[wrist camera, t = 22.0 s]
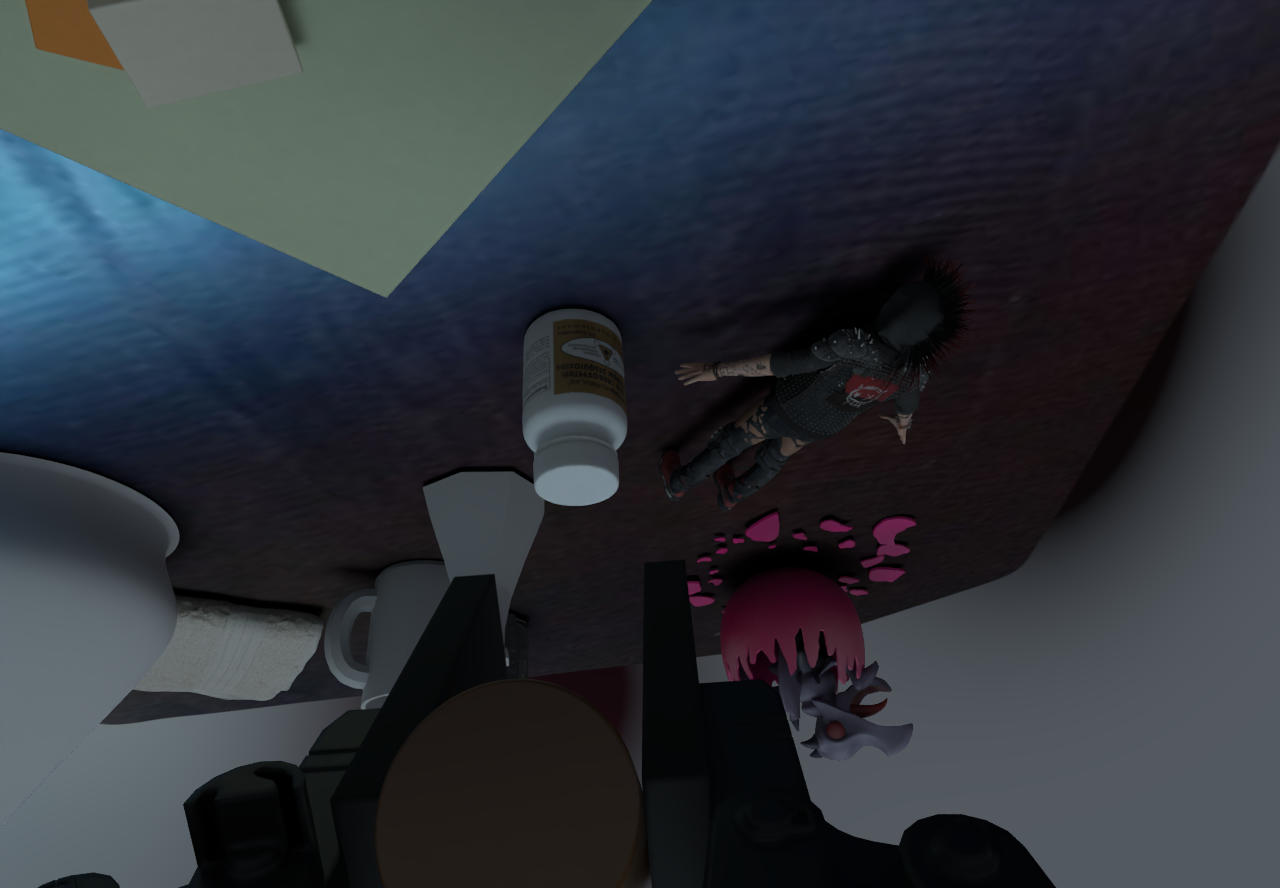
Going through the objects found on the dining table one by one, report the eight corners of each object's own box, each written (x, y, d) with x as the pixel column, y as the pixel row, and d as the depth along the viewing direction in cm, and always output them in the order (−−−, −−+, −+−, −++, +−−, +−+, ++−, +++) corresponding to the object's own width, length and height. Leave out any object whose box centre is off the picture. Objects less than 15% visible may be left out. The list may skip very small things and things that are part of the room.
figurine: (588, 522, 44) (850, 291, 29) (587, 422, 47) (824, 165, 31) (801, 560, 50) (1111, 385, 34) (788, 470, 52) (1069, 271, 37)
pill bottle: (641, 327, 39) (652, 478, 35) (585, 376, 42) (589, 521, 38) (558, 290, 36) (561, 448, 32) (505, 345, 39) (501, 495, 35)
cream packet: (87, 9, 22) (81, -22, 22) (147, 109, 24) (141, 80, 25) (266, -27, 22) (257, -56, 23) (304, 73, 25) (295, 46, 26)
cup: (463, 603, 65) (457, 724, 61) (324, 587, 61) (306, 715, 57) (493, 566, 60) (489, 695, 55) (344, 546, 56) (326, 684, 51)
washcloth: (128, 661, 72) (118, 699, 70) (148, 583, 59) (137, 626, 57) (279, 675, 77) (274, 710, 76) (328, 606, 64) (322, 647, 63)
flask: (523, 456, 48) (521, 632, 43) (562, 513, 54) (565, 673, 49) (401, 478, 49) (384, 651, 44) (453, 531, 55) (444, 689, 50)
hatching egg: (807, 625, 74) (835, 792, 67) (632, 607, 68) (643, 789, 61) (970, 525, 59) (1028, 728, 52) (763, 491, 53) (797, 715, 46)
